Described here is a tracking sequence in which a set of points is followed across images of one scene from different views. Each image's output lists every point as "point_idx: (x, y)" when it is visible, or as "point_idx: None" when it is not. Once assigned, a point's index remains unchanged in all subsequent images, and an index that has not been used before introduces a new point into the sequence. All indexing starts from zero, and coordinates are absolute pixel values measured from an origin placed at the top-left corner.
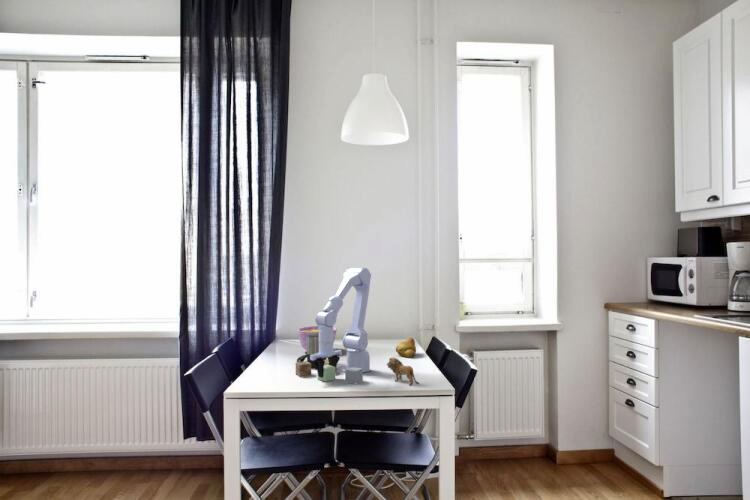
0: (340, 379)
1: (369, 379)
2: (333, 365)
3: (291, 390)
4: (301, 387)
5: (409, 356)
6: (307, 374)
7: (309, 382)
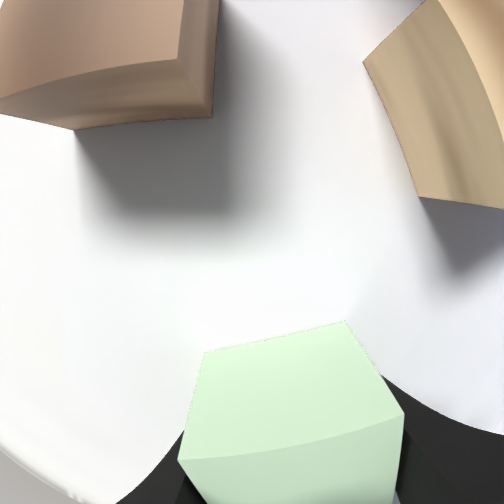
0: None
1: None
2: (401, 497)
3: (10, 442)
4: (50, 441)
5: None
6: (155, 115)
7: (106, 386)
